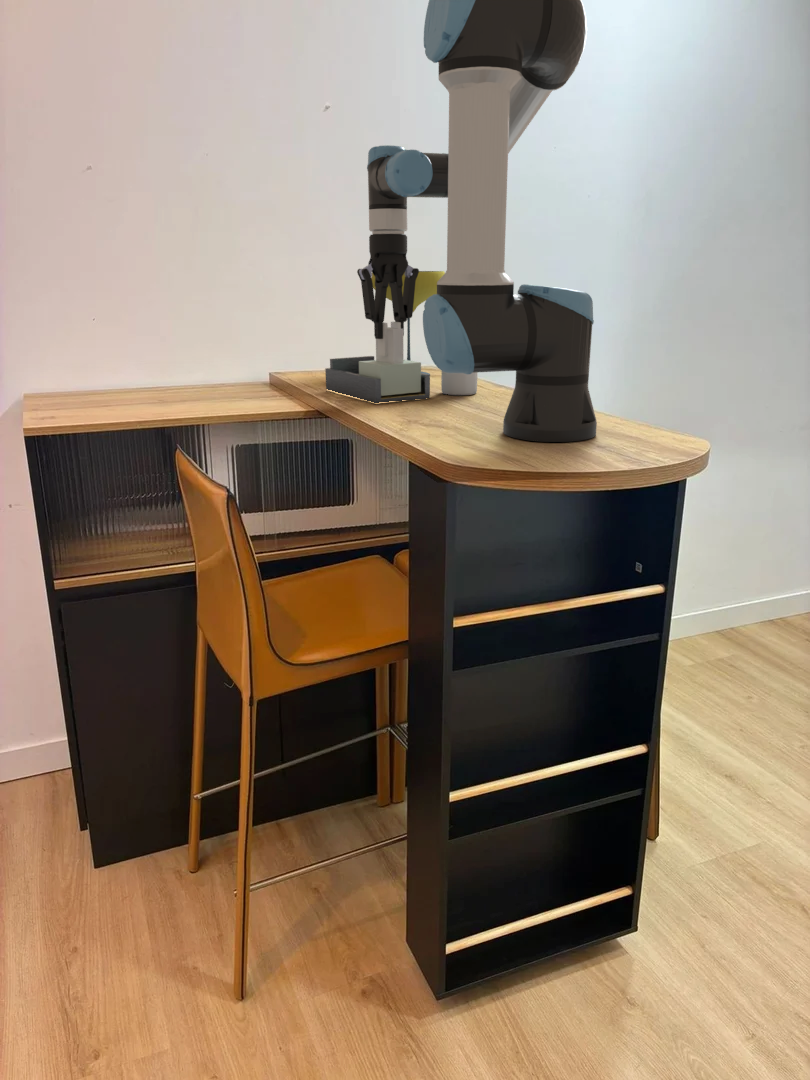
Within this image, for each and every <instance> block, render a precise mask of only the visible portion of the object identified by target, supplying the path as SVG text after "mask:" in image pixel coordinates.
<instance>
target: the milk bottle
mask: <svg viewBox="0 0 810 1080" xmlns="http://www.w3.org/2000/svg"><path fill="white" fill-rule="evenodd" d="M440 376H441V377H440V378H441V383H440V385H441V387H440V388H441V393H442V394H443V395H447V394H448V395H449V396H469V395H475V394H477V392H478V372H476V373H471V374H464V373H446V372H443V371H442V370H441V375H440ZM448 395H447V396H448Z"/></svg>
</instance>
